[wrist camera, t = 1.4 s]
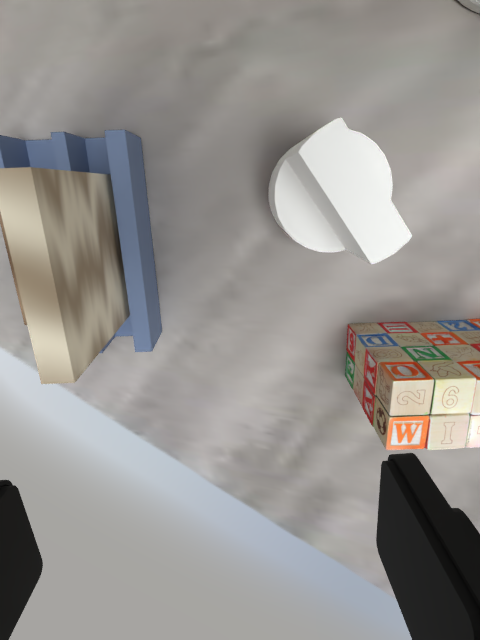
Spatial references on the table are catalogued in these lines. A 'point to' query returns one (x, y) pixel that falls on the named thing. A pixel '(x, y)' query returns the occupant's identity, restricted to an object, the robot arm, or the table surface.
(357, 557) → the table surface
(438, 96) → the table surface
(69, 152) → the rack
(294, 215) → the base with upright slab
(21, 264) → the birch sheet
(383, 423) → the stack of blocks
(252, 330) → the table surface
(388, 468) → the robot arm
